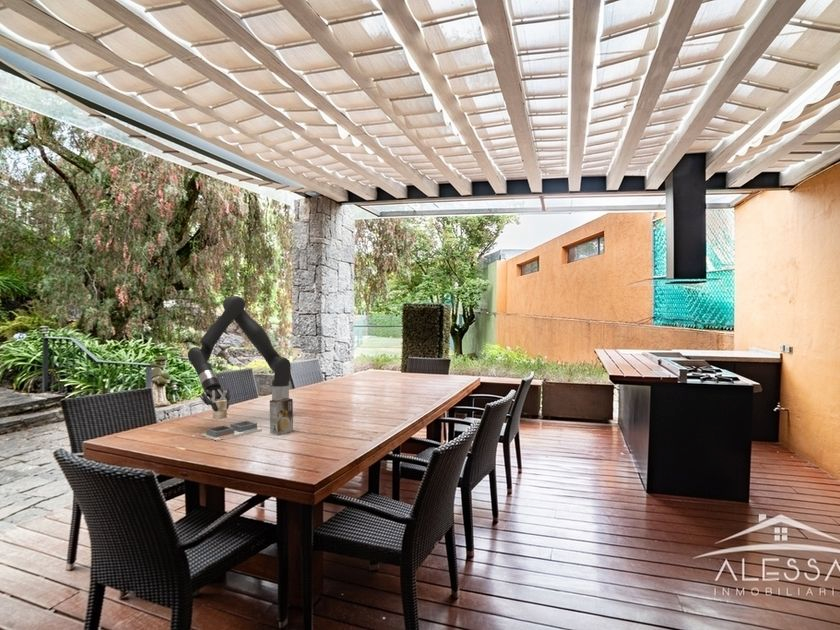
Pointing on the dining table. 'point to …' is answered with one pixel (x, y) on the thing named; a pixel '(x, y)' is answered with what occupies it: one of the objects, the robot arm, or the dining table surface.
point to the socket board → (232, 430)
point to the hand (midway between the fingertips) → (222, 409)
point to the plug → (220, 409)
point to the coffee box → (281, 416)
